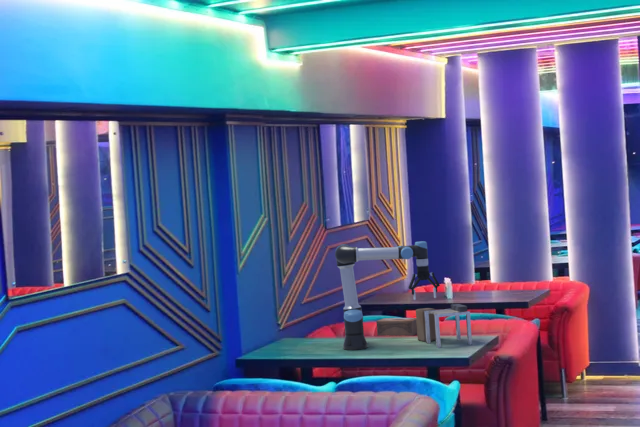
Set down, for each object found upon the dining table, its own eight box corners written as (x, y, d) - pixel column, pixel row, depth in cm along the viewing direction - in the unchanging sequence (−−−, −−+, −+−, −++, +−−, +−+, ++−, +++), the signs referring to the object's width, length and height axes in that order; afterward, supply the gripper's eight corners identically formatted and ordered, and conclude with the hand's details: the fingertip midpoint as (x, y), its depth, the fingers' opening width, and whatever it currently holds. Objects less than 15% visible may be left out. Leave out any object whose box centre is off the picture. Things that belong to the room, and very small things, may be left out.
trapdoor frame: (426, 342, 598) (424, 311, 598) (459, 339, 603) (457, 307, 602) (437, 347, 577) (435, 314, 577) (472, 344, 581) (469, 311, 581)
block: (424, 342, 603) (422, 310, 602) (417, 340, 612) (414, 309, 611) (438, 340, 606) (436, 308, 606) (430, 338, 616) (428, 307, 615)
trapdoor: (429, 312, 596) (429, 306, 596) (458, 310, 600) (457, 303, 600) (438, 315, 580) (437, 309, 579) (467, 312, 583) (467, 306, 583)
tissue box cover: (420, 332, 645) (419, 317, 645) (413, 336, 633) (412, 321, 632) (385, 332, 657) (384, 318, 657) (377, 335, 644) (376, 321, 644)
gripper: (405, 267, 602) (407, 301, 602) (443, 264, 607) (445, 297, 607) (402, 267, 609) (404, 300, 610) (439, 263, 614) (441, 296, 615)
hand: (424, 298), depth 609 cm, fingers open, 13 cm apart
